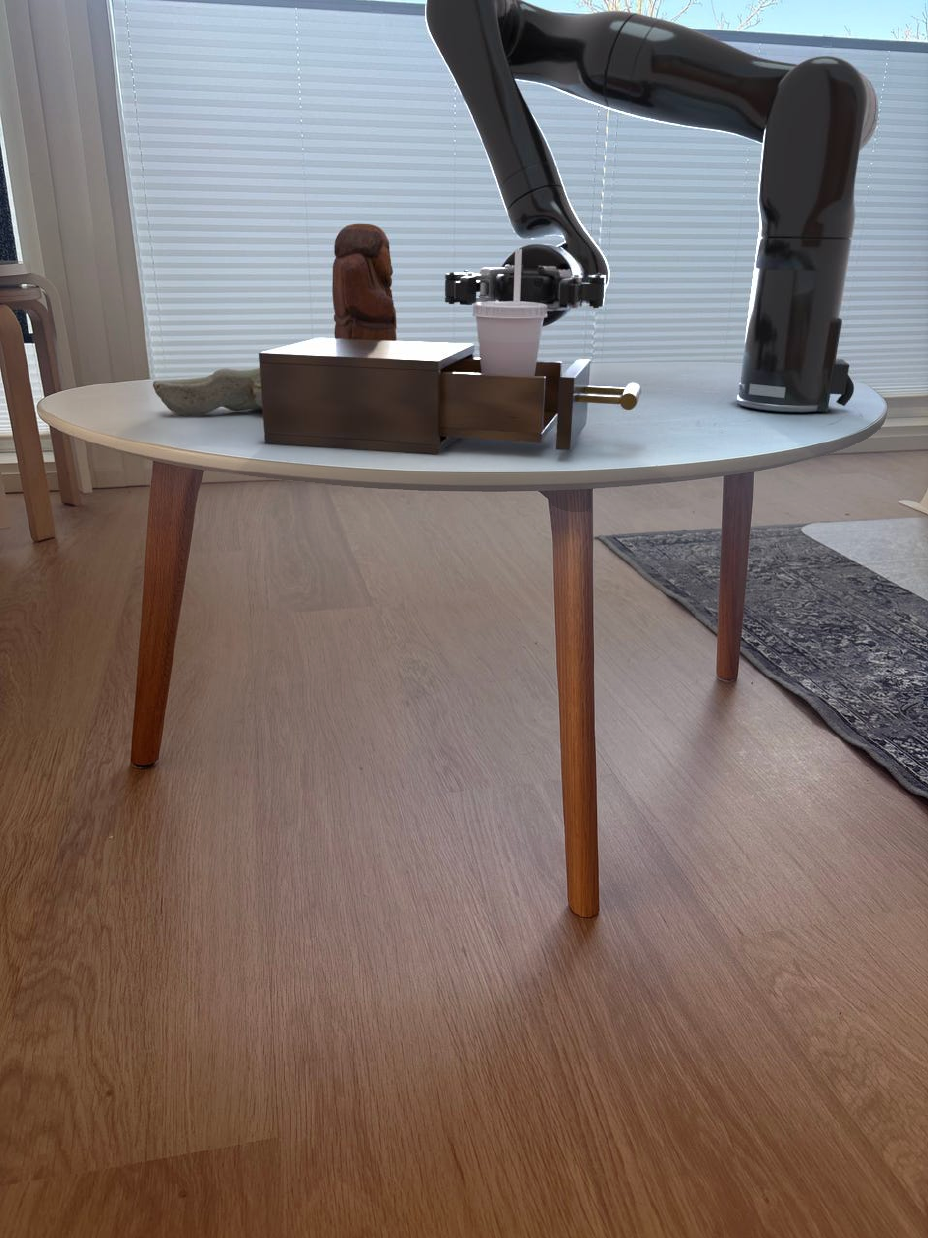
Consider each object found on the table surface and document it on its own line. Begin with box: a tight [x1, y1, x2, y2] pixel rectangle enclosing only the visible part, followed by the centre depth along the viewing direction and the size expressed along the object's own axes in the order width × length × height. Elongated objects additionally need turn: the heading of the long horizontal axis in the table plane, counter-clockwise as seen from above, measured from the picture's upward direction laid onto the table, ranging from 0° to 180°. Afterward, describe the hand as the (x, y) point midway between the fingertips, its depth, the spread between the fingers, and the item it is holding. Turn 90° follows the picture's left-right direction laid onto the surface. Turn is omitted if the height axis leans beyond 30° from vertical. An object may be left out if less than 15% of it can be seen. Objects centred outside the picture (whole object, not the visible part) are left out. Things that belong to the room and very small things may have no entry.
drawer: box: [440, 357, 642, 451], centre depth 81 cm, size 19×12×6 cm, turn 77°
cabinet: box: [258, 337, 475, 455], centre depth 84 cm, size 16×14×8 cm
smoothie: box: [471, 248, 547, 376], centre depth 80 cm, size 6×6×14 cm
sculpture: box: [152, 367, 262, 417], centre depth 94 cm, size 7×5×15 cm
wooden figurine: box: [331, 223, 398, 341], centre depth 101 cm, size 12×6×18 cm, turn 15°
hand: (513, 292), depth 78 cm, fingers open, 8 cm apart
